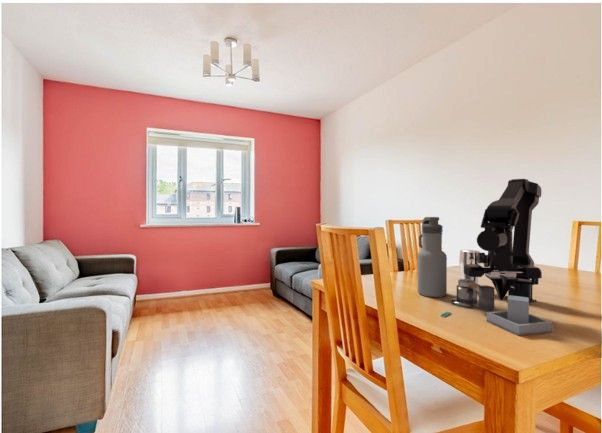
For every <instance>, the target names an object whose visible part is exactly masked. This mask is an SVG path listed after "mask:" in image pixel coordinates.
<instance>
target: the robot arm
mask: <svg viewBox="0 0 602 433" xmlns="http://www.w3.org/2000/svg"><path fill="white" fill-rule="evenodd" d="M542 192H543V191H542V187H541V186H540V185H539V183H536V182H534V181H530V180H528V179H527V178H515V179H514V178H512V179H511V180H508V182H507V186H506V188H505V189H504V191H503V193H502V194H501V196H500V197H499V199H497V200H494V201H492V202H491V203H490V204H489V205H487V208H485V210H484V213H483V217H482V219H481V224H480V228H481V229H483V228H484V230H483V231H480V232H479V234H478V235H477V237H476V243H477V245H478V247H479V248H480V249H481V250H483V251H486V252H487V254H486V253H485V252H480V253H477V262H478V263H480V265H478V264H466V265H465V266H464V273H465V274H466V275H468V276H469V277H478V278H482V277H483V276H484V277H485V278H487V279H489V280H491V283H492V284H493V287H494V288H495V293H496V295H497V296H498V298H499V301H504V299H507V300H508V295H512V296H520V297H528V298H529V303H537V299H535V298H533V289H534V286H535V285H536V286H537V285H539V279H542V276H543V275H542V274H543V273H542V270H541V269H540V268H539V267H537V266H535V262H534V259H533V258H532V256H531V255H530V242H531V240H530V239H531V229H532V215H533V210H534V209H535V208H536V207H537V206H538V205H539V203H540V202H539V201H540V198H541V197H542V194H543V193H542ZM481 264H483V266H482V265H481Z"/></svg>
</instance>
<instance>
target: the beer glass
mask: <svg viewBox="0 0 602 433" xmlns="http://www.w3.org/2000/svg"><path fill="white" fill-rule="evenodd" d="M477 253H481V252H480V250H474V249H461V250H459V261H458V262H459V271H460V276H461V279H469V280H474V281H476V284H479V283H478V282H479V277H469V276H468V275H466V274H465V273H464V266H465V265H466V264H478V265H480V266H481V263H478V262H477ZM477 294H479V292H478V291H477Z"/></svg>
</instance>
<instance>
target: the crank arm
mask: <svg viewBox="0 0 602 433" xmlns="http://www.w3.org/2000/svg"><path fill="white" fill-rule="evenodd" d="M457 285H459V286H462V287H469V288H471V289H474V290H476V291H478V300H479V308H478V309H479V310H481V311H484V312H486V311H487V312H495V293H496V289H495V287H494V286H491V285H486V284H485V285H481V284H479V283H478V284H476V281H474V280H469V279H462V278H459V279H458V284H457Z"/></svg>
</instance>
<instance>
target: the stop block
mask: <svg viewBox="0 0 602 433" xmlns="http://www.w3.org/2000/svg"><path fill="white" fill-rule="evenodd" d="M507 296H508V299H507V310H508V319H507V320H509V321H512V322H514V323H517V324H527V323H529V314H530V313H529V312H530V308H529V307H530V302H529V298H528V297H520V296H512V295H508V294H507Z"/></svg>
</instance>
